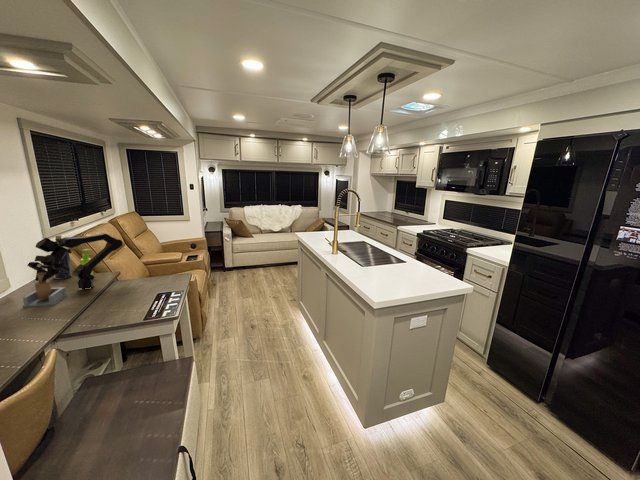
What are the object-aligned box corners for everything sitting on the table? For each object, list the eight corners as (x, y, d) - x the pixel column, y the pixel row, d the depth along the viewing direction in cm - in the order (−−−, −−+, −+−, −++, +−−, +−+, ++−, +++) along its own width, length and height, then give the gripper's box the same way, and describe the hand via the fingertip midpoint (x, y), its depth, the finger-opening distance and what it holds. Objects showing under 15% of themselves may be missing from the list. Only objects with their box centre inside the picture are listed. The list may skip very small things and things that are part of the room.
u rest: (37, 297, 151) (36, 288, 150) (66, 295, 156) (65, 287, 155) (23, 307, 140) (21, 297, 139) (54, 305, 145) (53, 295, 143)
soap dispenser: (96, 275, 190) (94, 248, 186) (87, 278, 184) (84, 250, 180) (89, 274, 191) (86, 247, 187) (79, 277, 184) (76, 250, 180)
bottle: (60, 280, 177) (55, 237, 171) (50, 278, 179) (44, 235, 173) (75, 275, 186) (71, 235, 180) (65, 274, 187) (60, 233, 181)
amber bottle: (54, 294, 151) (51, 270, 148) (48, 299, 145) (44, 274, 142) (41, 295, 148) (37, 270, 145) (34, 300, 143) (30, 274, 140)
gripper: (28, 248, 145) (8, 273, 136) (62, 250, 145) (45, 275, 137) (44, 257, 154) (27, 281, 145) (76, 260, 155) (61, 284, 146)
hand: (39, 280), depth 143 cm, fingers closed on amber bottle, 3 cm apart
